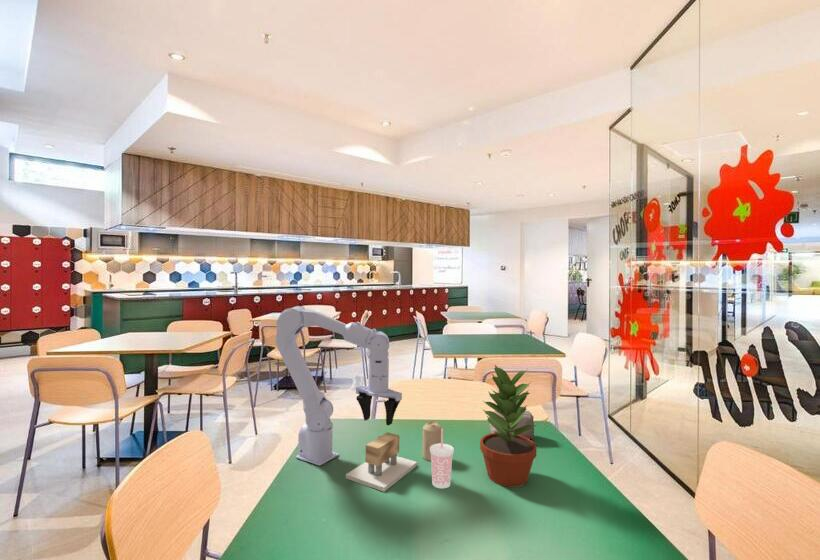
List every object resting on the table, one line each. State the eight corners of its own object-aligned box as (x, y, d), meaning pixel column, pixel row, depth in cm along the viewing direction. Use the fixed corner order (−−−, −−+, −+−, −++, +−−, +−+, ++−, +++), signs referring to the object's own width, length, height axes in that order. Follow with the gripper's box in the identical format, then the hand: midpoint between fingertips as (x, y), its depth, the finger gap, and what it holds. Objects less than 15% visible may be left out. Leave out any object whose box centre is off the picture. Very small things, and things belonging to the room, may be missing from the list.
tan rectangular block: (378, 466, 102) (378, 448, 102) (365, 462, 104) (365, 445, 104) (399, 451, 110) (399, 435, 110) (387, 448, 113) (387, 432, 113)
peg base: (345, 478, 104) (345, 462, 104) (381, 455, 117) (381, 441, 117) (383, 491, 97) (384, 475, 97) (416, 465, 111) (417, 451, 111)
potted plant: (546, 475, 107) (548, 363, 106) (519, 498, 95) (521, 372, 95) (497, 457, 117) (499, 354, 116) (467, 476, 106) (469, 362, 105)
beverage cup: (425, 486, 100) (426, 431, 100) (433, 475, 106) (434, 422, 105) (449, 492, 98) (450, 434, 98) (456, 480, 103) (457, 426, 103)
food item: (493, 442, 128) (494, 411, 128) (487, 432, 136) (488, 403, 136) (535, 442, 128) (536, 411, 128) (527, 432, 136) (528, 403, 136)
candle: (440, 462, 113) (440, 427, 113) (421, 460, 114) (421, 425, 114) (442, 453, 119) (443, 420, 119) (424, 451, 120) (424, 418, 120)
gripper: (349, 374, 115) (349, 421, 115) (393, 381, 108) (392, 431, 108) (363, 369, 121) (363, 414, 122) (405, 375, 115) (405, 423, 115)
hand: (377, 421), depth 115 cm, fingers open, 7 cm apart
